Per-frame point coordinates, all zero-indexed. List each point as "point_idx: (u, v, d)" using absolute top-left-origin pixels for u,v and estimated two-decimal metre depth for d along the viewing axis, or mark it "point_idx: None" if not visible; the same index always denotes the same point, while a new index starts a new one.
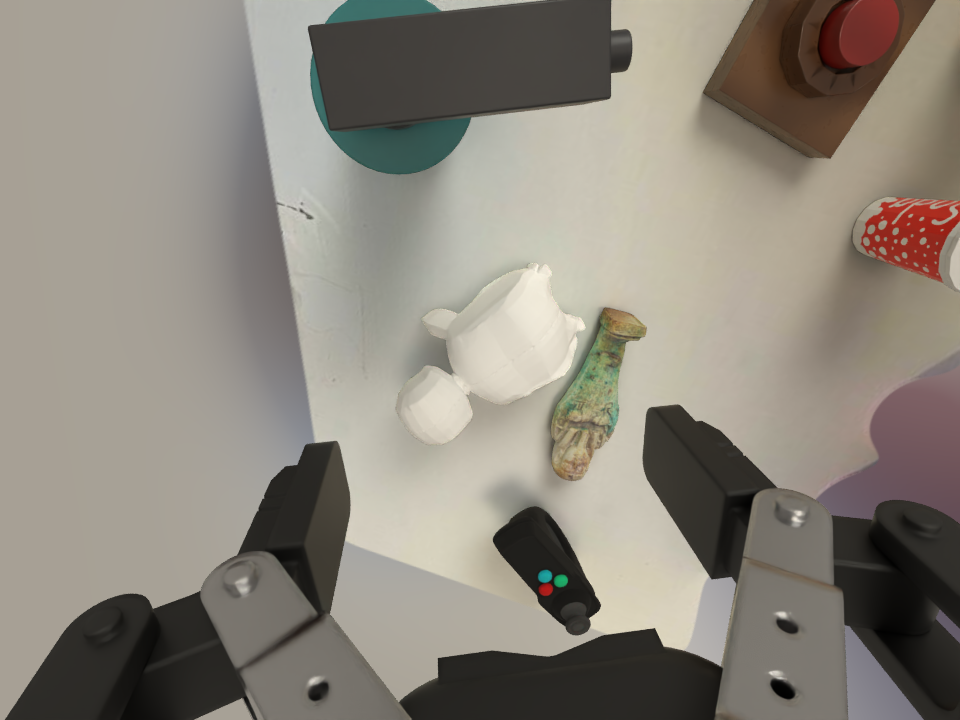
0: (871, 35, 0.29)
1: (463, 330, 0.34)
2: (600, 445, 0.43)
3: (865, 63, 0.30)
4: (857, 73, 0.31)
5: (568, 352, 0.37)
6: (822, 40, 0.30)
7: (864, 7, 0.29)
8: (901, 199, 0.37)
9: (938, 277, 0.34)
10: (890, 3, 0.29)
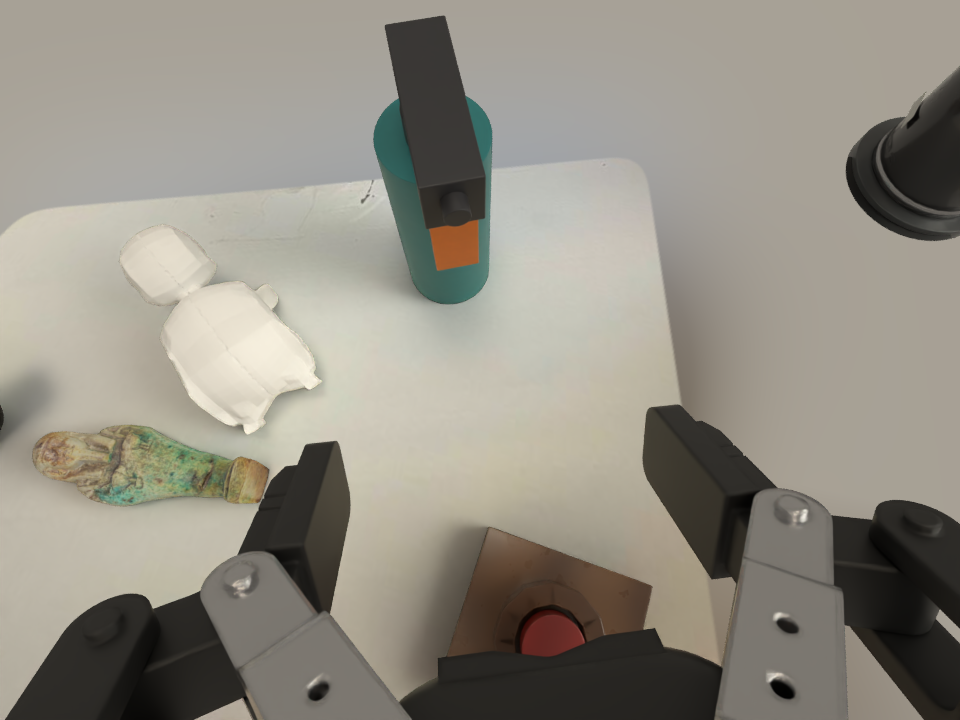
0: (550, 655, 0.28)
1: (251, 289, 0.34)
2: (81, 486, 0.34)
3: None
4: None
5: (218, 407, 0.33)
6: (541, 611, 0.30)
7: (571, 634, 0.28)
8: None
9: None
10: None
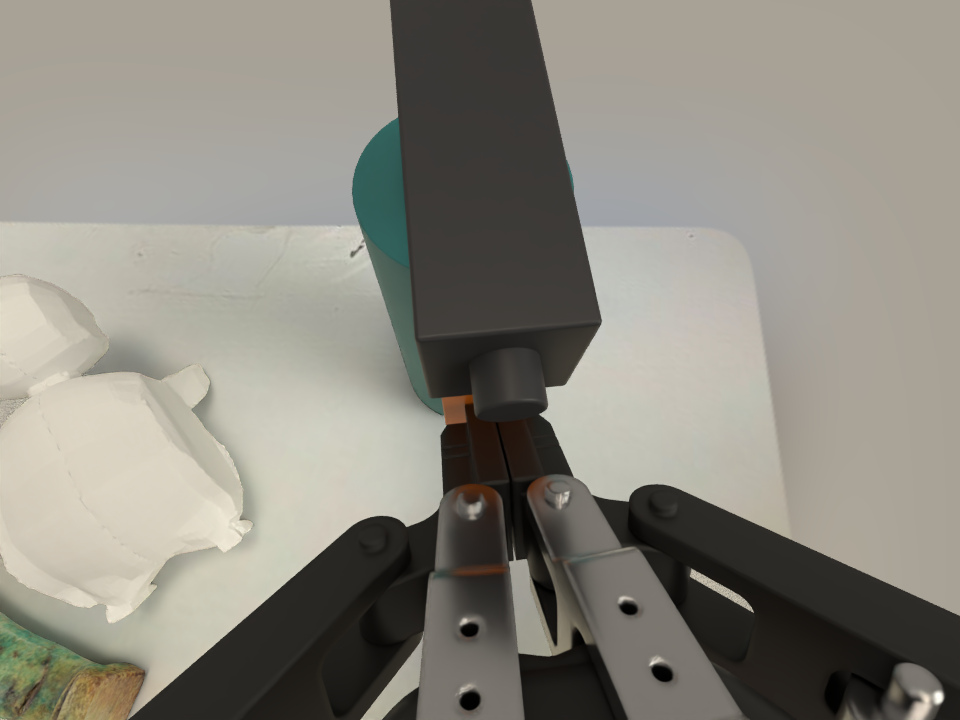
0: None
1: (148, 389, 0.22)
2: None
3: None
4: None
5: (60, 583, 0.20)
6: None
7: None
8: None
9: None
10: None
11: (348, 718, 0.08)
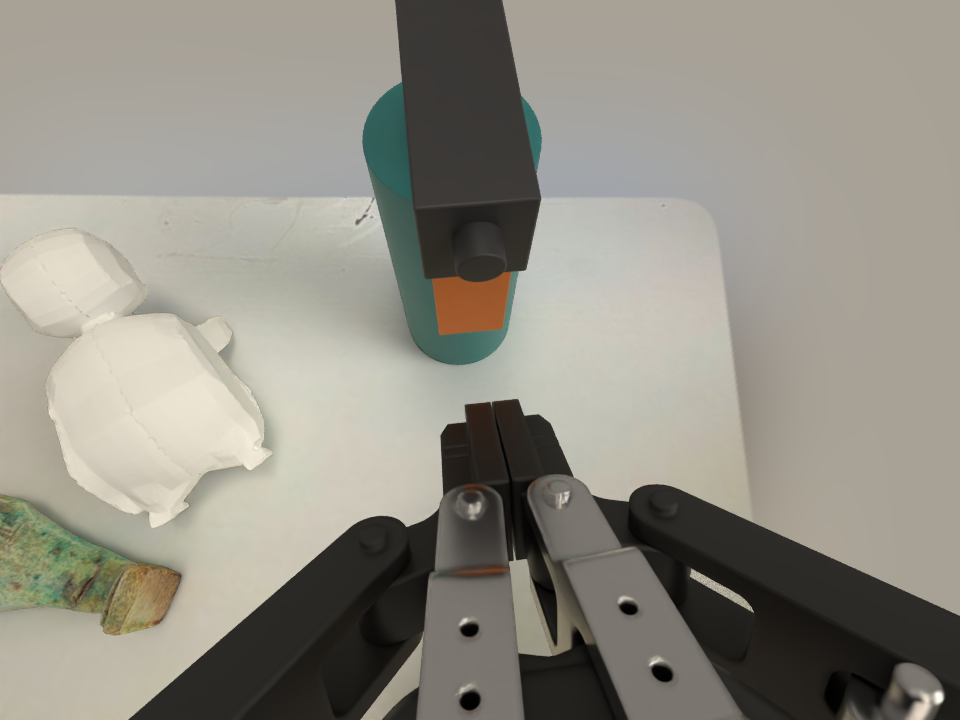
0: None
1: (183, 327, 0.25)
2: None
3: None
4: None
5: (112, 489, 0.23)
6: None
7: None
8: None
9: None
10: None
11: (348, 719, 0.08)
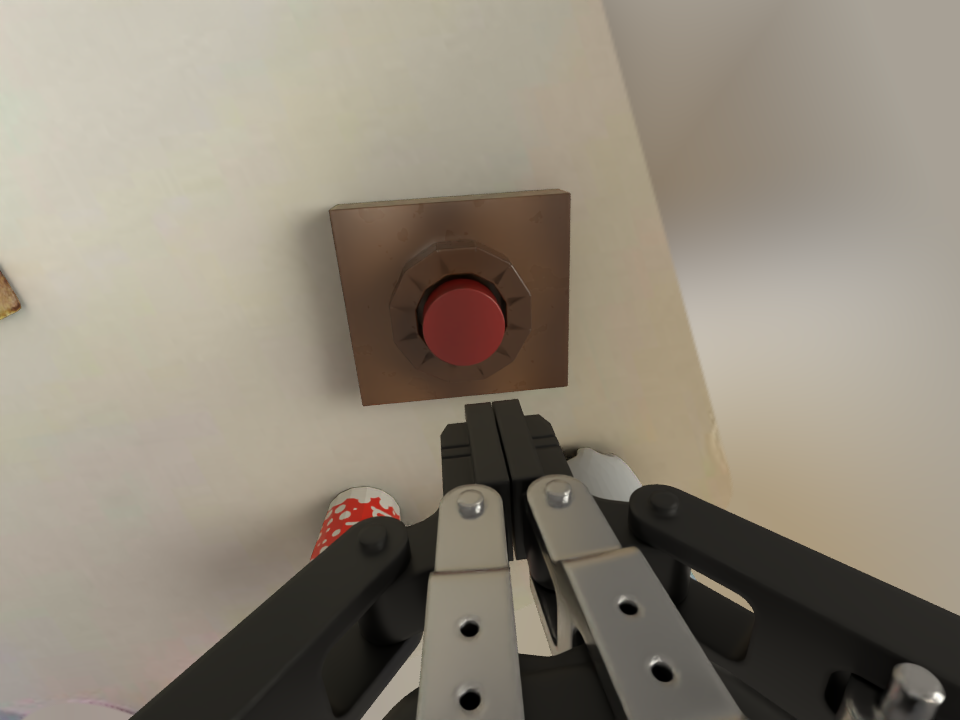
0: (461, 335, 0.22)
1: None
2: None
3: (434, 352, 0.22)
4: (435, 357, 0.24)
5: None
6: (437, 289, 0.22)
7: (478, 303, 0.21)
8: (388, 512, 0.30)
9: None
10: (500, 330, 0.22)
11: (347, 718, 0.08)
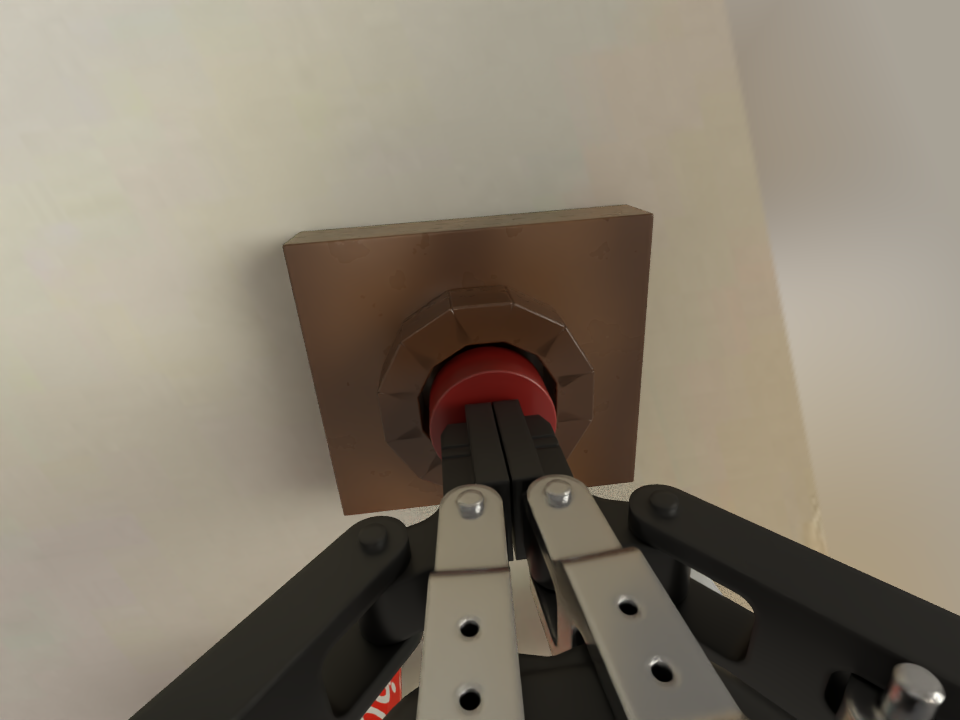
0: None
1: None
2: None
3: None
4: None
5: None
6: (450, 364, 0.15)
7: (517, 391, 0.14)
8: None
9: None
10: None
11: (347, 719, 0.08)
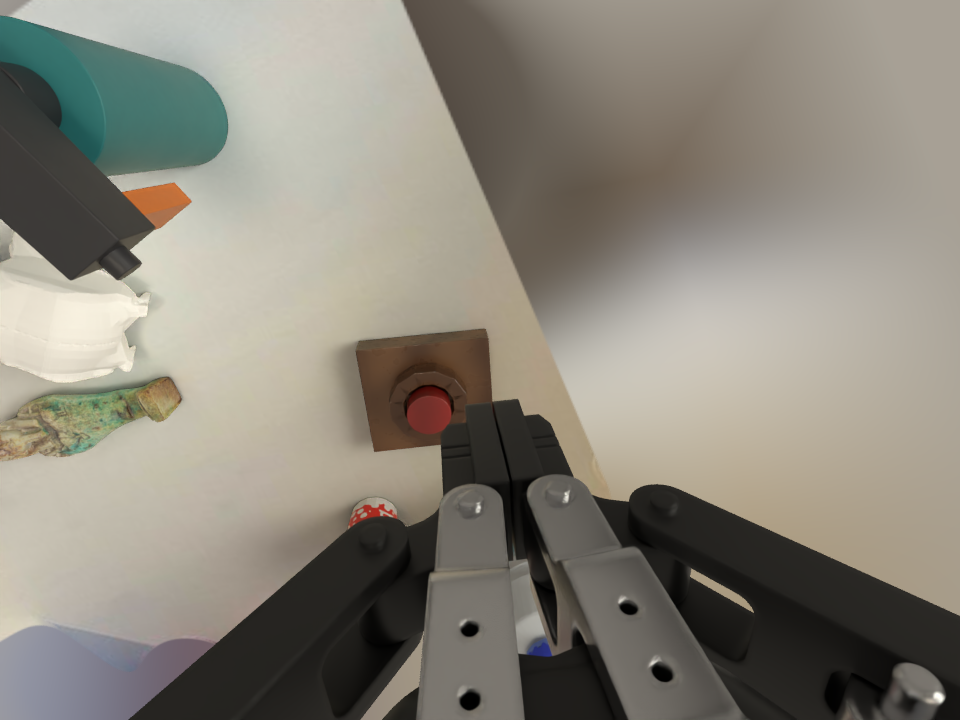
0: (427, 418, 0.41)
1: (10, 273, 0.33)
2: (46, 454, 0.42)
3: (413, 427, 0.41)
4: None
5: (86, 372, 0.37)
6: (414, 392, 0.41)
7: (436, 403, 0.40)
8: (389, 513, 0.49)
9: None
10: (448, 415, 0.41)
11: (348, 719, 0.08)
